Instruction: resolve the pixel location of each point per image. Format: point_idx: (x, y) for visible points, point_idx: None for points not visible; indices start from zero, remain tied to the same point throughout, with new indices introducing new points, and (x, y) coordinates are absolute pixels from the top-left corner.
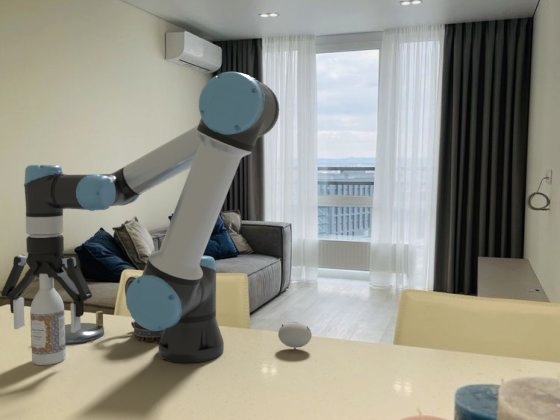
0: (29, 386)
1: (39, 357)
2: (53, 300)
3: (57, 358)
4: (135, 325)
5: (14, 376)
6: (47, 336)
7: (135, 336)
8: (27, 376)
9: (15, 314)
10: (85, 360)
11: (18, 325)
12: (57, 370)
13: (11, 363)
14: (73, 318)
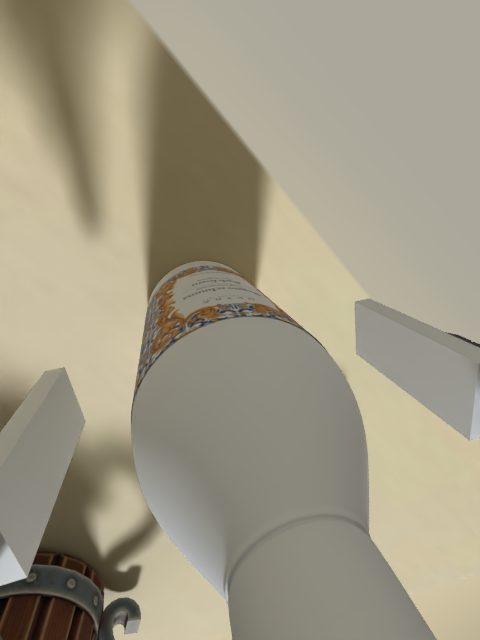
0: (67, 70)
1: (195, 264)
2: (157, 461)
3: (148, 303)
4: (68, 605)
5: (204, 147)
6: (166, 299)
7: (71, 561)
8: (159, 162)
9: (409, 324)
10: (79, 357)
11: (363, 316)
12: (98, 247)
13: (301, 247)
14: (15, 416)
